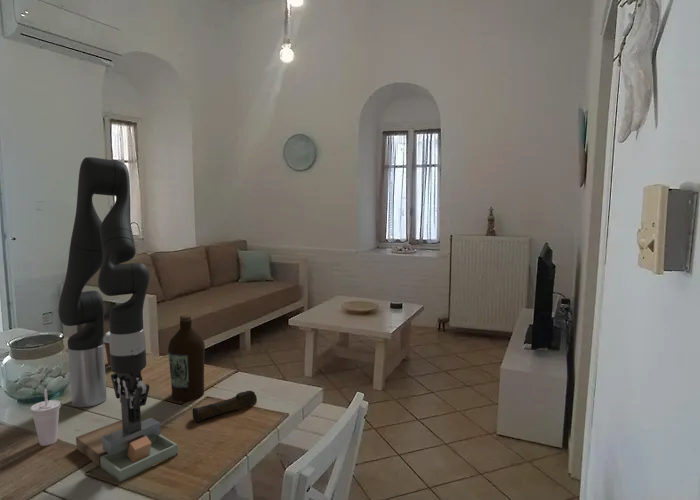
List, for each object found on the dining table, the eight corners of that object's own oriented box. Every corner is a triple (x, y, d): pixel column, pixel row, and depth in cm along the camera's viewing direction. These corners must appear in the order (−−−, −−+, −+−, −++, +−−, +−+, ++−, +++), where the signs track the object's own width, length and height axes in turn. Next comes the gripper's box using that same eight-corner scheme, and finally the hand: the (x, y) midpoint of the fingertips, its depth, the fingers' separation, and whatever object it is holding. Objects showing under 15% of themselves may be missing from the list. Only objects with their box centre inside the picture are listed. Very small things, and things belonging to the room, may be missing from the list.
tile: (129, 442, 110) (135, 450, 109) (146, 435, 113) (151, 442, 112) (127, 455, 111) (132, 462, 110) (143, 448, 115) (148, 455, 113)
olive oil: (185, 385, 155) (183, 310, 152) (213, 390, 151) (210, 313, 148) (162, 398, 145) (158, 318, 142) (190, 404, 141) (188, 322, 138)
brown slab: (76, 448, 117) (75, 437, 116) (132, 426, 128) (131, 416, 127) (99, 466, 109) (99, 454, 109) (156, 441, 120) (155, 430, 120)
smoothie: (41, 451, 115) (36, 396, 114) (27, 443, 119) (23, 390, 117) (68, 439, 121) (64, 387, 119) (55, 432, 124) (51, 381, 122)
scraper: (102, 449, 110) (99, 399, 108) (151, 429, 119) (149, 383, 118) (111, 455, 107) (108, 404, 106) (160, 434, 117) (158, 387, 115)
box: (100, 467, 109) (100, 456, 109) (157, 442, 120) (157, 432, 120) (120, 481, 104) (119, 471, 103) (177, 454, 115) (177, 444, 114)
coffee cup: (119, 358, 178) (117, 327, 177) (137, 362, 175) (135, 330, 173) (97, 366, 170) (95, 334, 169) (116, 370, 167) (114, 337, 165)
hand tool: (196, 425, 129) (196, 409, 129) (191, 419, 132) (191, 403, 132) (260, 407, 140) (260, 392, 140) (254, 402, 143) (254, 387, 143)
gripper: (97, 346, 112) (101, 416, 114) (127, 360, 103) (131, 435, 105) (128, 339, 118) (131, 405, 120) (159, 351, 109) (162, 422, 111)
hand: (131, 419), depth 113 cm, fingers closed on scraper, 3 cm apart
